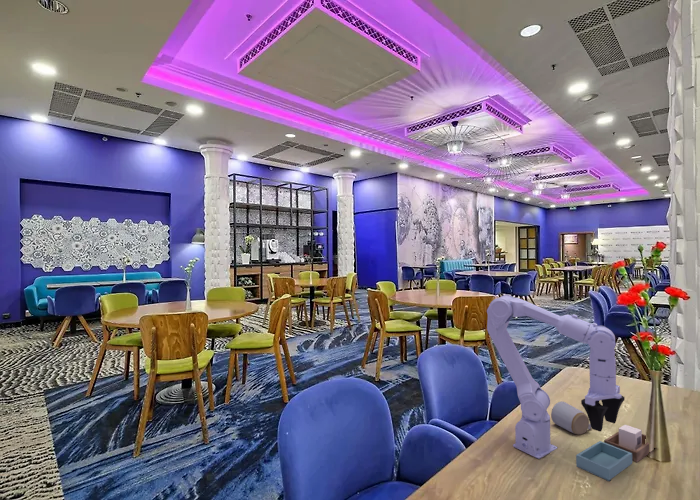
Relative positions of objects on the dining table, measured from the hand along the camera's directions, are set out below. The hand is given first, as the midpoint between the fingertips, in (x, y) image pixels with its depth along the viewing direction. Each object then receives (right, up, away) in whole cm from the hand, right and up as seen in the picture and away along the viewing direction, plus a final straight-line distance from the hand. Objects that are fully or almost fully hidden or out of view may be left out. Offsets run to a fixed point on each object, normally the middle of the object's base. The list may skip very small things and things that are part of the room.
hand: (603, 425), depth 97 cm
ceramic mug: (+4, -11, +20) cm, 23 cm away
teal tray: (0, -10, 0) cm, 10 cm away
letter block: (+12, -10, +7) cm, 17 cm away
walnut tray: (+12, -10, +7) cm, 17 cm away
